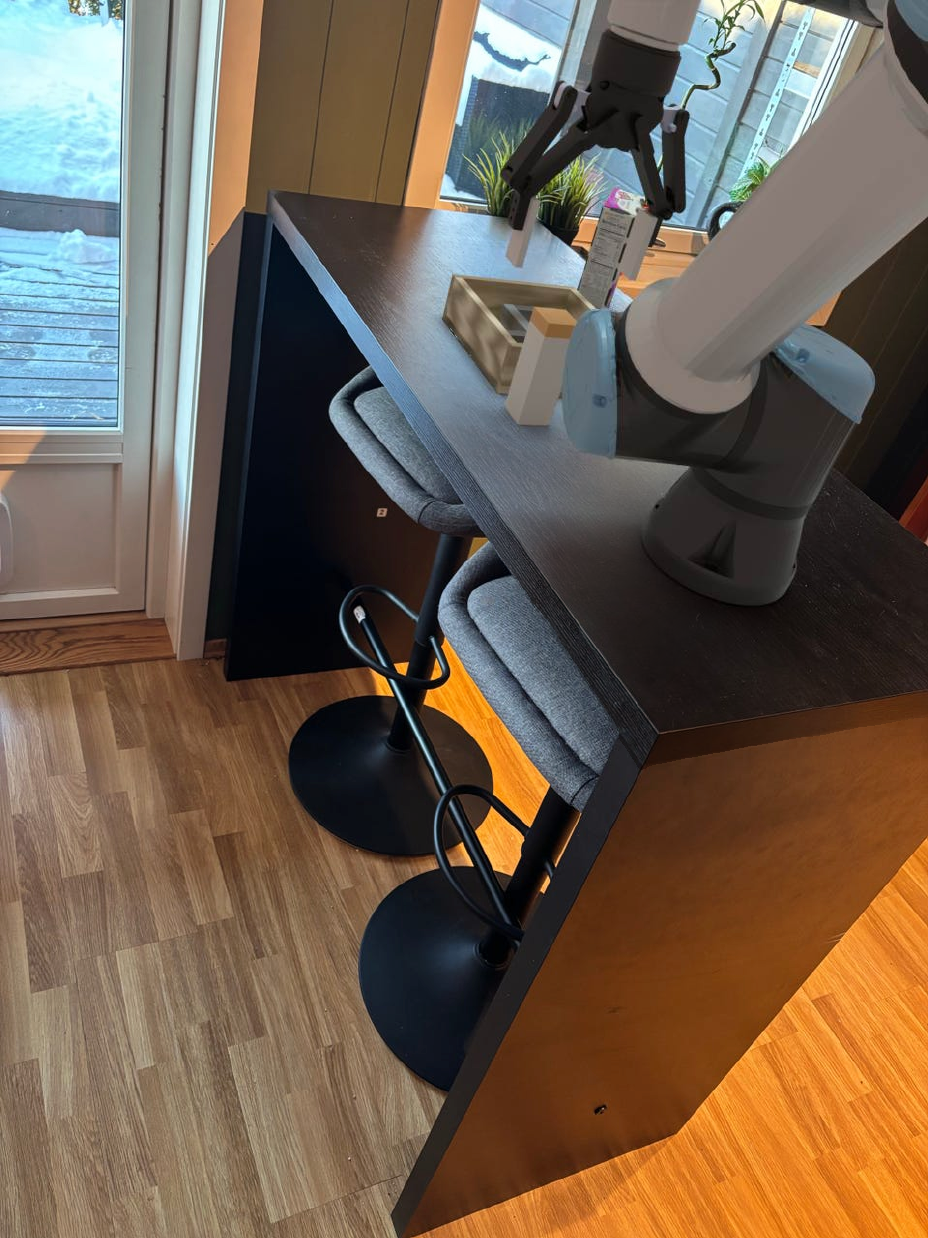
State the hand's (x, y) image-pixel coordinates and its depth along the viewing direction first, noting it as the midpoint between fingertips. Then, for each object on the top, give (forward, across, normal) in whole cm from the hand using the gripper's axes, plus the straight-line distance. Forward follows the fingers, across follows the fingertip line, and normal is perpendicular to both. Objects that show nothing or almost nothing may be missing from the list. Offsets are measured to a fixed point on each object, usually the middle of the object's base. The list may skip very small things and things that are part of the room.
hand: (571, 269), depth 99 cm
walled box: (+17, -8, -15) cm, 24 cm away
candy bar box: (+18, -24, -31) cm, 43 cm away
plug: (+17, 0, 0) cm, 17 cm away
